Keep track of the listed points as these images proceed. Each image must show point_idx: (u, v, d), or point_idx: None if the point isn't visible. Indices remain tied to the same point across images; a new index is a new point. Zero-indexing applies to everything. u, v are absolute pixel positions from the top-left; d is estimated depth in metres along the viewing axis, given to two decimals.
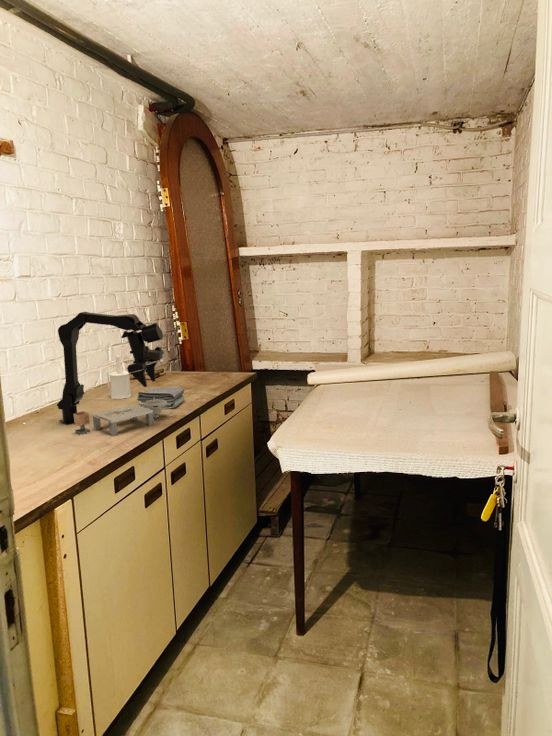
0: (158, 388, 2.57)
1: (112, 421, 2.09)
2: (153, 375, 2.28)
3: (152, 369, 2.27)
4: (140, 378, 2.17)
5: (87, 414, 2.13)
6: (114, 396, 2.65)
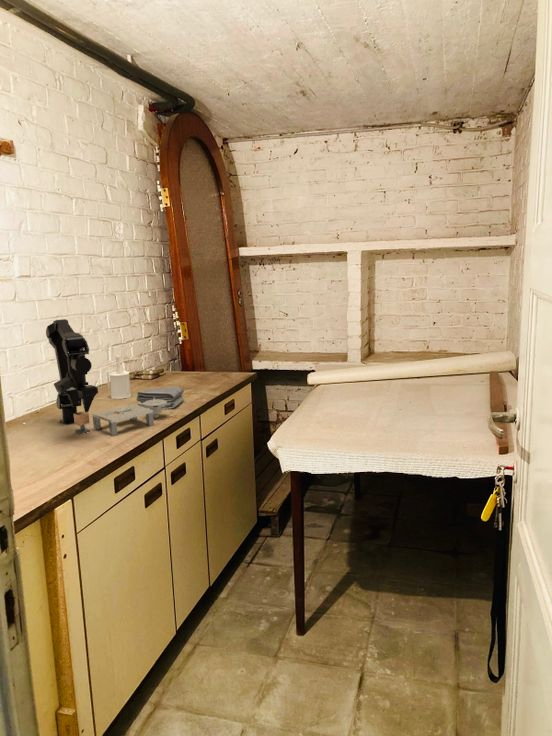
0: (157, 388, 2.56)
1: (112, 421, 2.09)
2: None
3: None
4: None
5: (87, 414, 2.13)
6: (114, 396, 2.65)
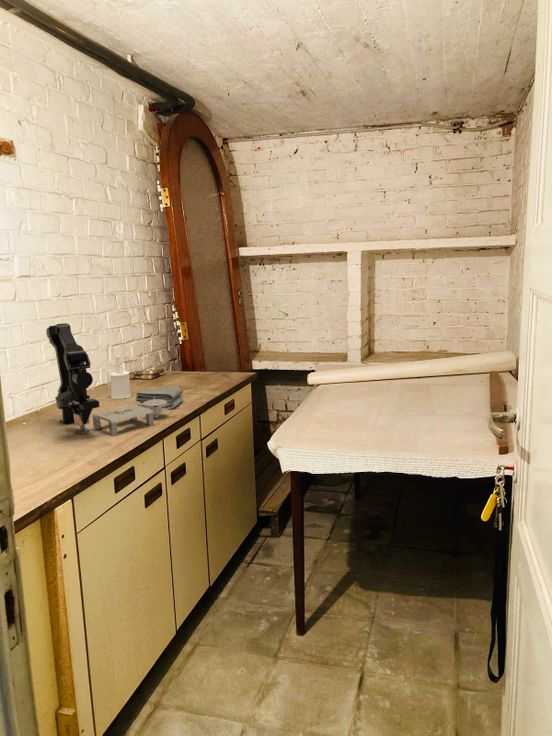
0: None
1: (112, 421, 2.09)
2: None
3: None
4: None
5: None
6: (114, 396, 2.65)
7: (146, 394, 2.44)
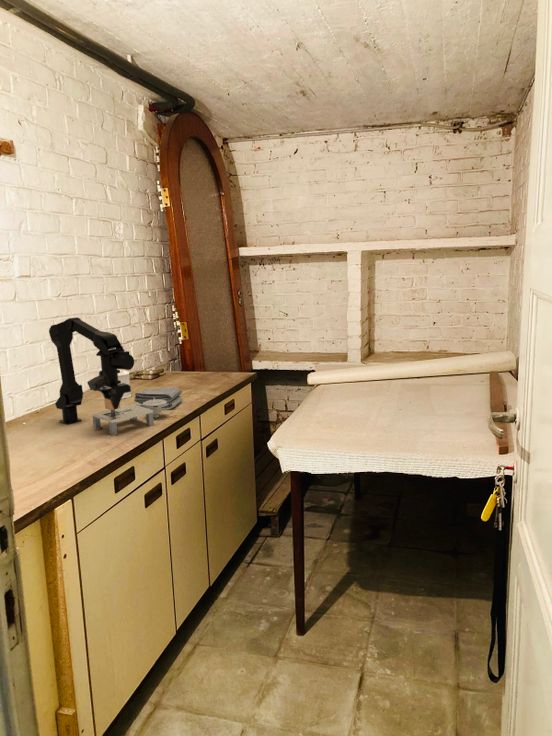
0: (155, 389, 2.55)
1: (112, 421, 2.09)
2: None
3: None
4: None
5: None
6: None
7: (145, 394, 2.44)
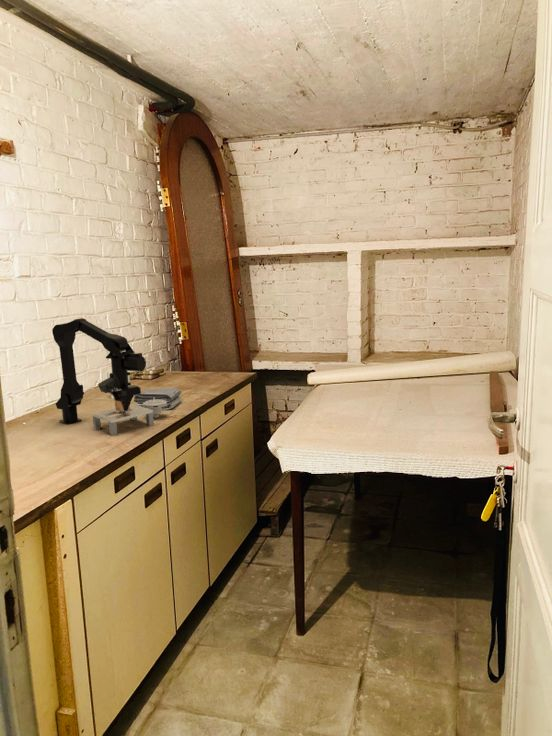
0: (154, 389, 2.55)
1: (112, 421, 2.09)
2: None
3: None
4: None
5: None
6: None
7: (144, 395, 2.43)
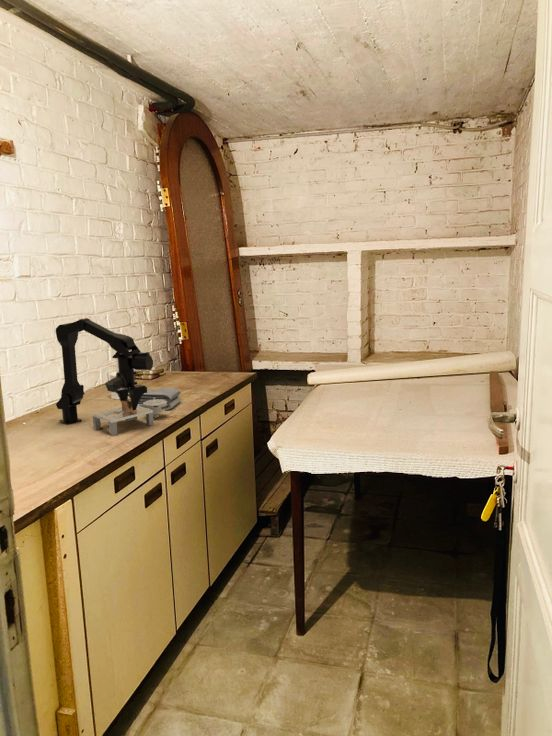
0: (154, 389, 2.55)
1: (112, 421, 2.09)
2: None
3: None
4: None
5: None
6: (114, 396, 2.65)
7: (143, 395, 2.43)
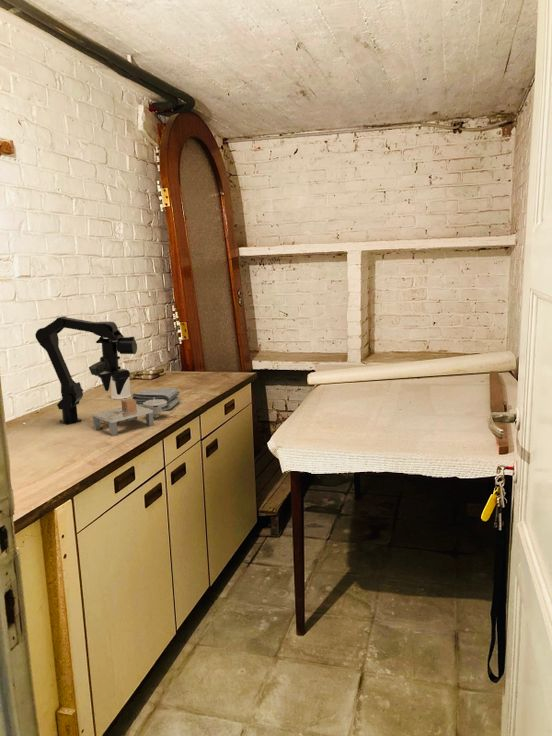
0: (153, 390, 2.54)
1: (112, 421, 2.09)
2: None
3: None
4: None
5: (134, 401, 2.20)
6: (114, 396, 2.65)
7: (142, 395, 2.42)
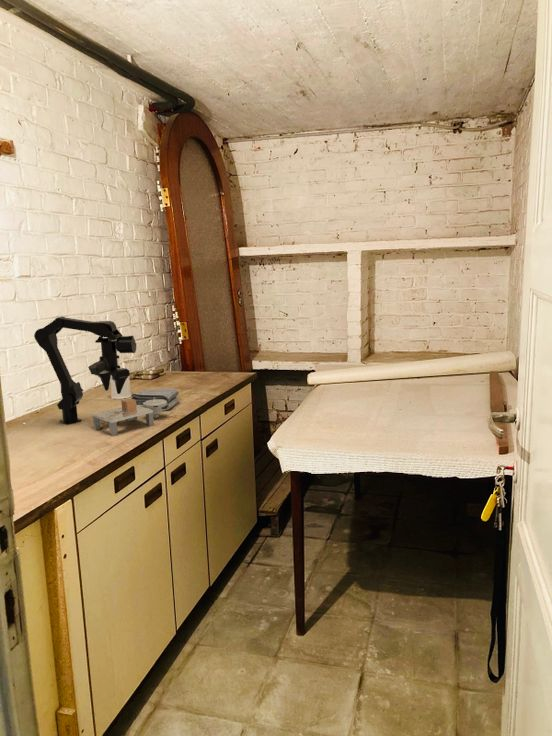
0: (152, 390, 2.54)
1: (112, 421, 2.09)
2: None
3: None
4: None
5: (134, 401, 2.20)
6: (114, 396, 2.65)
7: (141, 395, 2.42)
